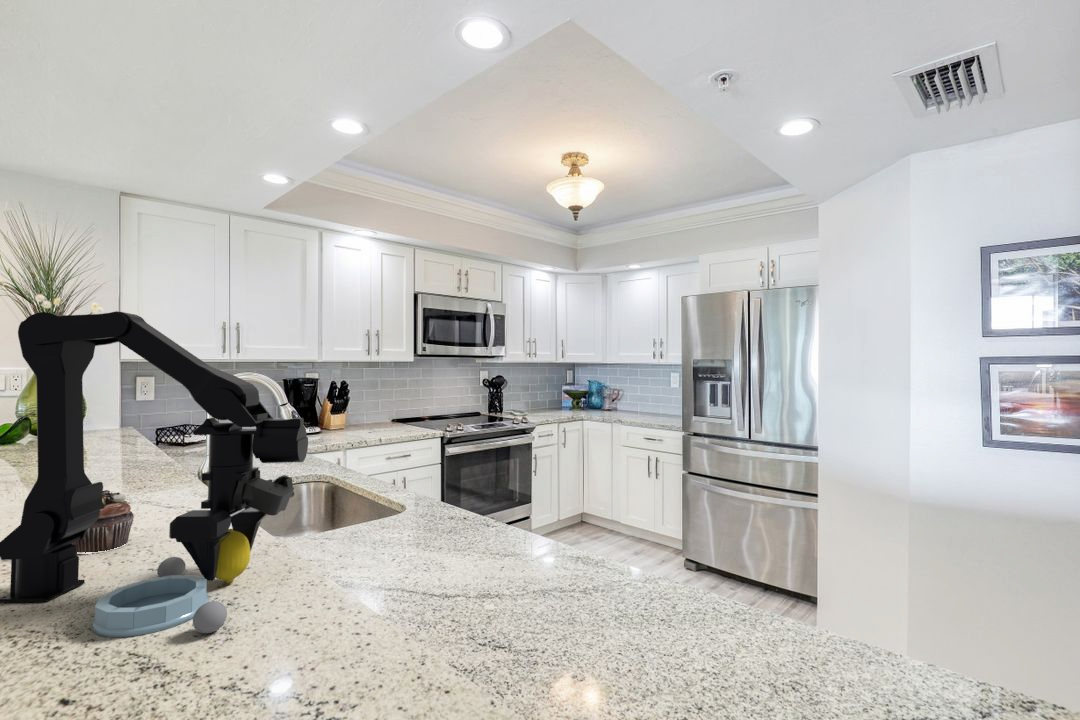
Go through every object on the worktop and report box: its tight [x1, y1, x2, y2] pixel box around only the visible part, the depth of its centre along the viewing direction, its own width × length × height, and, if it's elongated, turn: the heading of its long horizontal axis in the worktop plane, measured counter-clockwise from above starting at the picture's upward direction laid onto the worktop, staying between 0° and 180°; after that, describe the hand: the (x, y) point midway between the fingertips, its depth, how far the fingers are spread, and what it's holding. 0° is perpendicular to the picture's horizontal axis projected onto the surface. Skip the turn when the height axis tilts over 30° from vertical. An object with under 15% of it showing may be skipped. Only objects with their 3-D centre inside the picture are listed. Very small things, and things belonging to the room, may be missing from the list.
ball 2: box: [192, 600, 228, 634], centre depth 62 cm, size 4×4×4 cm
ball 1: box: [156, 556, 187, 578], centre depth 77 cm, size 4×4×4 cm
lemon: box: [215, 528, 251, 584], centre depth 77 cm, size 6×6×8 cm
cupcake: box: [71, 489, 135, 553], centre depth 92 cm, size 10×10×10 cm
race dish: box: [92, 574, 210, 638], centre depth 67 cm, size 12×12×3 cm
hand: (228, 568), depth 77 cm, fingers open, 9 cm apart
